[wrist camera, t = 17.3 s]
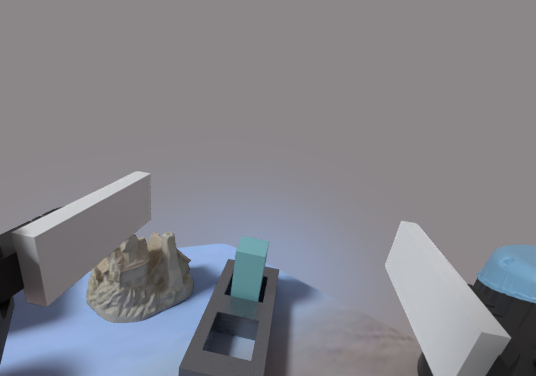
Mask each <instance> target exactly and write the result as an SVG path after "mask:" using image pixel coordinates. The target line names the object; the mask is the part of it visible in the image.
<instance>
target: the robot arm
mask: <svg viewBox="0 0 536 376" xmlns="http://www.w3.org/2000/svg"><path fill="white" fill-rule="evenodd" d="M150 197H151V186H150V174H148V173H144V172H138V171H136V172H134V173H132V174H130V175H128V176H126V177H124V178H122V179H120V180H118V181H116V182H114V183H111V184H110V185H108V186H106V187H103V188H101V189H99V190H97V191H95V192H93V193H91V194H89V195H87V196H85V197H83V198H81V199H79V200H77V201H75V202H73V203H71V204H68V205H66V206H64V207H60V208H56V209H53V210H51V211H49V212H47V213H45V214H43V215H42V216H39V217H36V218H35V219H33V220H32V221H28V222H26V223H24V224H22V225H20V226H18V227H16V228H14V229H11V230H9V231H7V232H5V233H3V234H1V235H0V363H1V359H2V355H3V351H4V346H5V342H6V338H7V334H8V330H9V326H10V321H11V317H12V313H13V309H14V305H15V304H14V299H13V295H15V294H16V293H18V292H19V291H20V290H22V289H23V288H24V293H25V297H26V302H28V303H32V304H37V305H41V306H45V307H48V306H49V305H50V304H51V303H53V302H54V301H55V300H56V299H57V298H59V297H60V296H61V295H62V294H63V293H64V292H66V291H67V290H68V289H69V288H70V287H72V286H73V285H74V284H75V283H76V282H77V281H79V280H80V279H81V278H82V277H83V276H85V275H86V274H87V273H88V272H89V271H90V270H92V269H93V268H94V267H95V266H96V265H98V264H99V263H100V262H101V261H102V260H103V259H105V258H106V257H107V256H108V255H109V254H111V253H112V252H113V251H114V250H115V249H116V248H118V247H119V246H120V245H121V244H122V243H124V242H125V241H126V240H127V239H128V238H130V237H131V236H132V235H133V234H134V233H135V232H137V231H138V230H139V229H140V228H141V227H142V226H144V225H145V224H146V223H147V222H148V221H150V220H151V198H150ZM385 267H386V270H387V272H388V274H389V277H390V279H391V281H392V283H393V285H394V288H395V290H396V292H397V295H398V297H399V299H400V301H401V304H402V306H403V308H404V310H405V312H406V315H407V317H408V319H409V322H410V324H411V326H412V328H413V330H414V333H415V335H416V337H417V340H418V342H419V344H420V346H421V349H422V351H423V352H422V354H421V356H420V358H419V361H418V375H419V376H536V246H529V245H507V246H503V247H500V248H498V249H497V250H495V251H494V252H493V253H492V254H491V256H490V257H489V259H488V261H487V262H486V264H485V265H484V267H483V268H482V269H481V270H479V272H478V274H477V276H478V278H477V280H476V282H475V284H474V286H472V285H470V284H466V282H465V281H464V280H463V279H462V278H461V276H460V275H459V274H458V273H457V272H456V270H455V269H454V268H453V267H452V265H451V264H450V263H449V262H448V261H447V260H446V258H445V257H444V256H443V255H442V253H441V252H440V251H439V250H438V249H437V247H436V246H435V245H434V244H433V242H432V241H431V240H430V239H429V238H428V236H427V235H426V234H425V233H424V231H423V230H422V229H421V228H420V227H419V225H418V224H416V223H411V222H405V221H401V223H400V226H399V229H398V232H397V234H396V237H395V240H394V243H393V245H392V248H391V251H390V253H389V256H388V259H387V262H386V264H385Z"/></svg>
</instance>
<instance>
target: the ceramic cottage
mask: <svg viewBox="0 0 536 376" xmlns="http://www.w3.org/2000/svg"><path fill="white" fill-rule="evenodd" d="M190 261H191V260H190V259H189V258H187V257H186V256H185V255H183V254H182V253H181V252H180V251H179V250H178V249H177V248H176V244H175V236H174V234H173V233H172V232H166V233H165V234H163V236H162V238H161V237H160V235H158V234H157V233H156V232H153V233H152V236H151V238H150V239H149V241H148V243H146V240H145V237H144V236H143V237H141V238H138V239H137V237H136V235H135V234H133V235H132V236H131V237H130V238H128V239H127V240H126V241H125V242H124V243H122V244H121V245H120V246H119V247H118V248H116V249H115V250H114V251H113V252H112V253H111V254H109V255H108V256H107V257H106V258H105V259H103V260H102V261H101V262H100V263H99V264H98V265H96V266H95V267H94V268H93V269H92V270H91V274H90V277H89V281H88V290H87V294H86V295H87V296H86V297H87V304H88V305H89V306H90V307H91V308H92V309H93V310H95V312H96V313H97V314H98V315H99V316H101V317H102V318H105V320H107V321H110V322H113V323H130V322H138V321H142V320H144V319H148V318H149V317H151V316H153V315H155V314H157V313H159V312H161V311H163V310H166V309H168V308H170V307H172V306H174V305H176V304H178V303H180V302H182V301H184V300H186V299H187V298H188V297H189V296H190V295H191V294H192V293H193V288H194V287H193V280H192V277H191V275H190V273H189V270H190V268H189V265H188V263H189V262H190Z"/></svg>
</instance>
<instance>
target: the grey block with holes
mask: <svg viewBox="0 0 536 376" xmlns="http://www.w3.org/2000/svg"><path fill="white" fill-rule="evenodd" d="M234 264H235V260H230V259H228V261H227V263H226V265H225V268H224V270H223V272H222V274H221V276H220V279H219V281H218V283H217V285H216V287H215V290H214V292H213V294H212V296H211V298H210V301H209V303H208V305H207V307H206V309H205V312H204V314H203V316H202V318H201V320H200V323H199V325H198V327H197V329H196V331H195V334H194V336H193V338H192V340H191V342H190V345H189V347H188V349H187V351H186V353H185V356H184V358H183V360H182V362H181V364H180V367H179V376H264V370H265V363H266V356H267V349H268V343H269V336H270V329H271V322H272V315H273V309H274V302H275V295H276V288H277V281H278V274H279V269H274V268H269V267H265V268H264V274H263V280H262V286H261V291H260V293H261V294H265V295H264V300H263V303H261V302H256V301H252V300H247V299H243V298H238V297H233V296H229V293H230V290H231V288H232V280H233V272H234ZM215 331H216V332H221V333H225V334H230V335H234V336H239V337H243V338H247V339H252V340H255V345H254V350H253V355H252V360H251V361H248V360H244V359H239V358H235V357H231V356H226V355H222V354H218V353H213V352H209V351H208V349H209V347H210V344H211V341H212V339H213V336H214V333H215Z"/></svg>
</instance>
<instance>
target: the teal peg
mask: <svg viewBox="0 0 536 376" xmlns="http://www.w3.org/2000/svg"><path fill="white" fill-rule="evenodd" d="M268 245H269V241H264V240H260V239H255V238H250V237H244V236H242V239H241V241H240V243H239V246H238V248H237V250H236V256H235V264H234V272H233V280H232V288H231V296H233V297H238V298H243V299H247V300H252V301H256V302H259V297H260V291H261V286H262V280H263V274H264V268H265V263H266V257H267V251H268Z"/></svg>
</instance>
